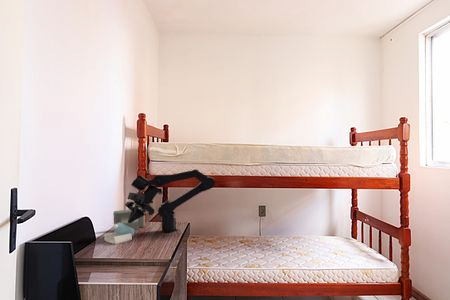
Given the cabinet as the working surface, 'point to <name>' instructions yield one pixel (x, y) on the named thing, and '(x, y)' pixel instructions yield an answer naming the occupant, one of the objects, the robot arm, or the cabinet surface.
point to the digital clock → (123, 218)
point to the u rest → (117, 238)
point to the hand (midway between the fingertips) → (128, 222)
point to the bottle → (123, 229)
